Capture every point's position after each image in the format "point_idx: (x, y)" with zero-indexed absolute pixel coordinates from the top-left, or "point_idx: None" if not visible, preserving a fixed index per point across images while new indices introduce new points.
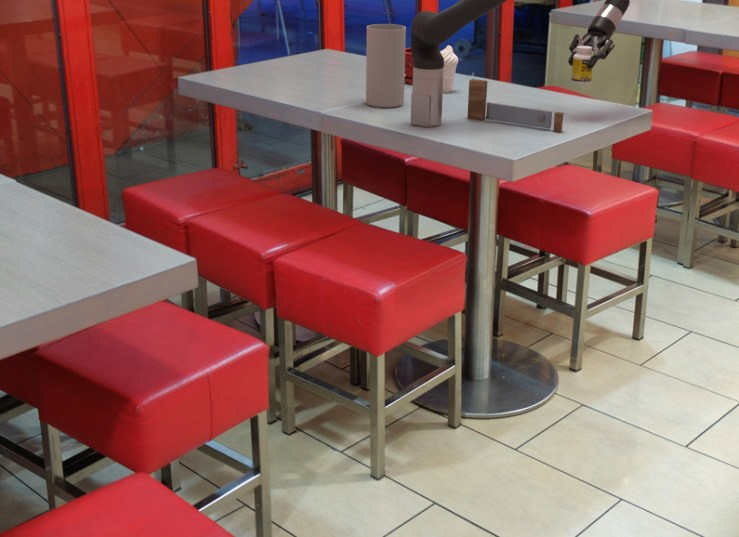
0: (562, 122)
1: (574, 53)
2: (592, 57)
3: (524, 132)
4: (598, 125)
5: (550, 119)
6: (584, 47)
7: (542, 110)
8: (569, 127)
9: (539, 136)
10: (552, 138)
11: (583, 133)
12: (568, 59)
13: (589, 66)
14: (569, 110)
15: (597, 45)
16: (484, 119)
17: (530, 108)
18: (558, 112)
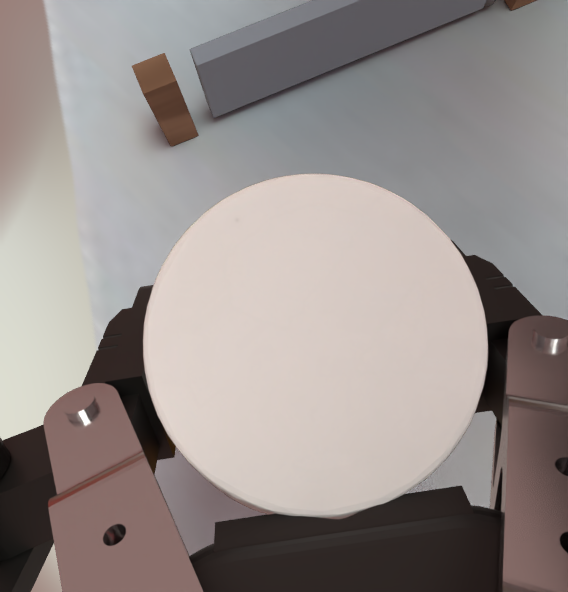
0: (158, 121)
1: (485, 310)
2: (121, 358)
3: (245, 12)
4: None
5: (200, 79)
6: (283, 304)
7: (240, 38)
8: None
9: (165, 21)
10: (113, 42)
11: (89, 198)
12: (492, 265)
13: None
14: (476, 492)
15: (65, 571)
16: (507, 4)
17: (308, 17)
18: (161, 76)
